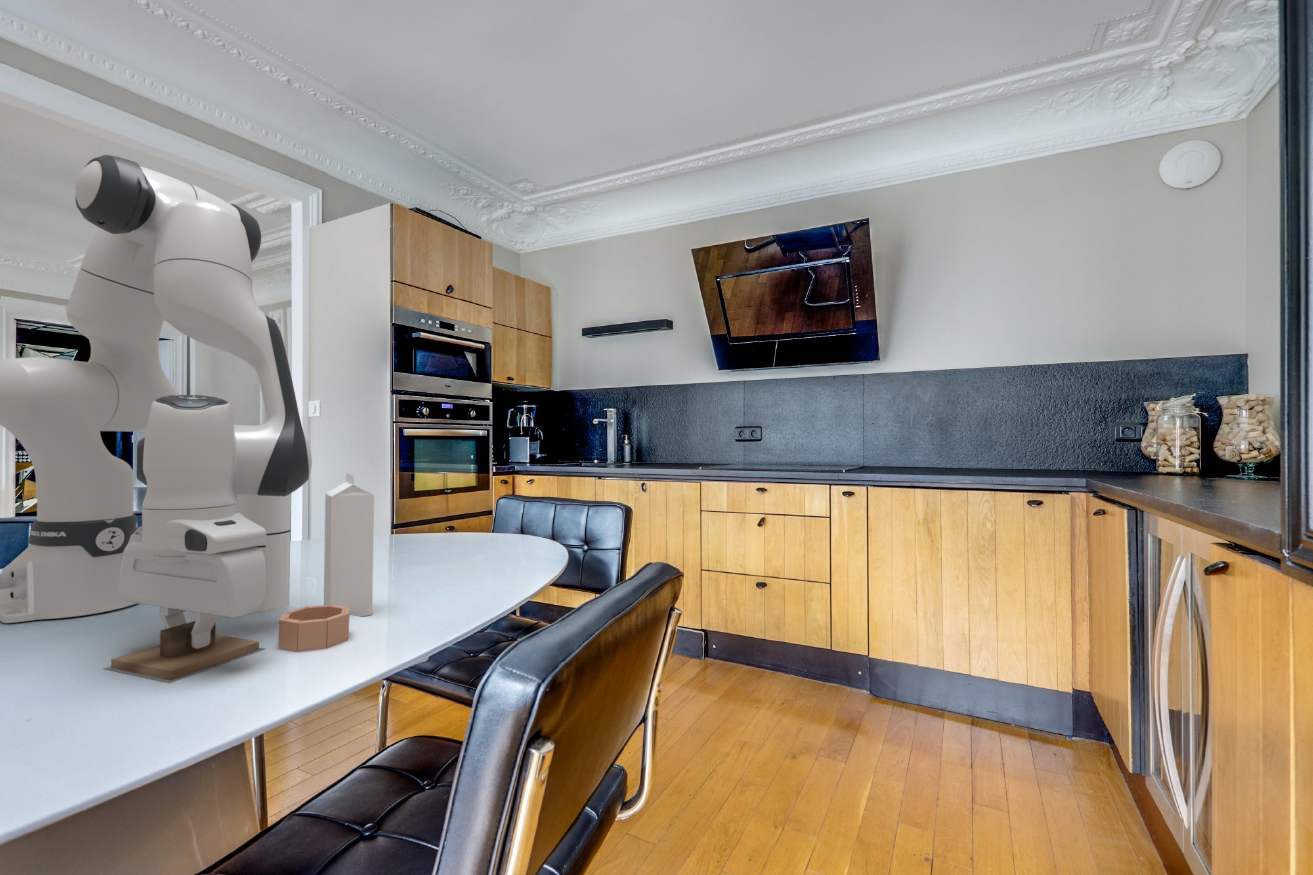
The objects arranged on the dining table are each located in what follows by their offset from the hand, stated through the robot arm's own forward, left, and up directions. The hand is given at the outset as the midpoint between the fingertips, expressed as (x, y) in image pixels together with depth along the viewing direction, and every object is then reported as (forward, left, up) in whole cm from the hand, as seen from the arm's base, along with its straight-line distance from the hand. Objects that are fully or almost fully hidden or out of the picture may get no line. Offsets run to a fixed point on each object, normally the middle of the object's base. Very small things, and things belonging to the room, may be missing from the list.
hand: (188, 644), depth 70 cm
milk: (+1, +23, -3) cm, 23 cm away
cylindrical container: (-12, +19, -3) cm, 23 cm away
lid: (0, 0, -2) cm, 2 cm away
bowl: (+9, +10, -3) cm, 13 cm away
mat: (0, 0, -3) cm, 3 cm away
